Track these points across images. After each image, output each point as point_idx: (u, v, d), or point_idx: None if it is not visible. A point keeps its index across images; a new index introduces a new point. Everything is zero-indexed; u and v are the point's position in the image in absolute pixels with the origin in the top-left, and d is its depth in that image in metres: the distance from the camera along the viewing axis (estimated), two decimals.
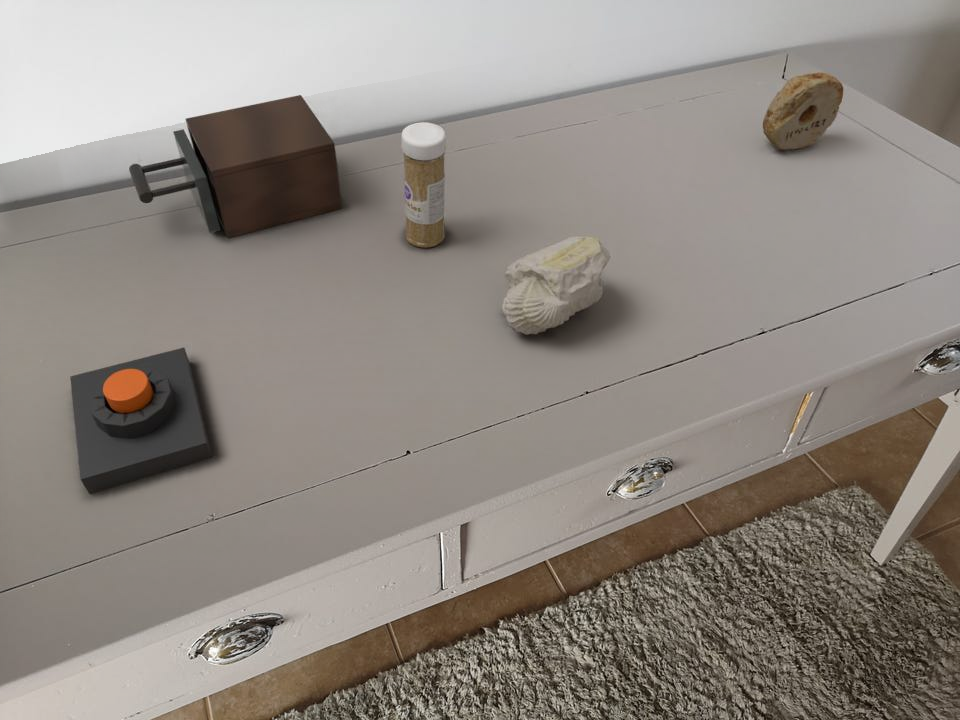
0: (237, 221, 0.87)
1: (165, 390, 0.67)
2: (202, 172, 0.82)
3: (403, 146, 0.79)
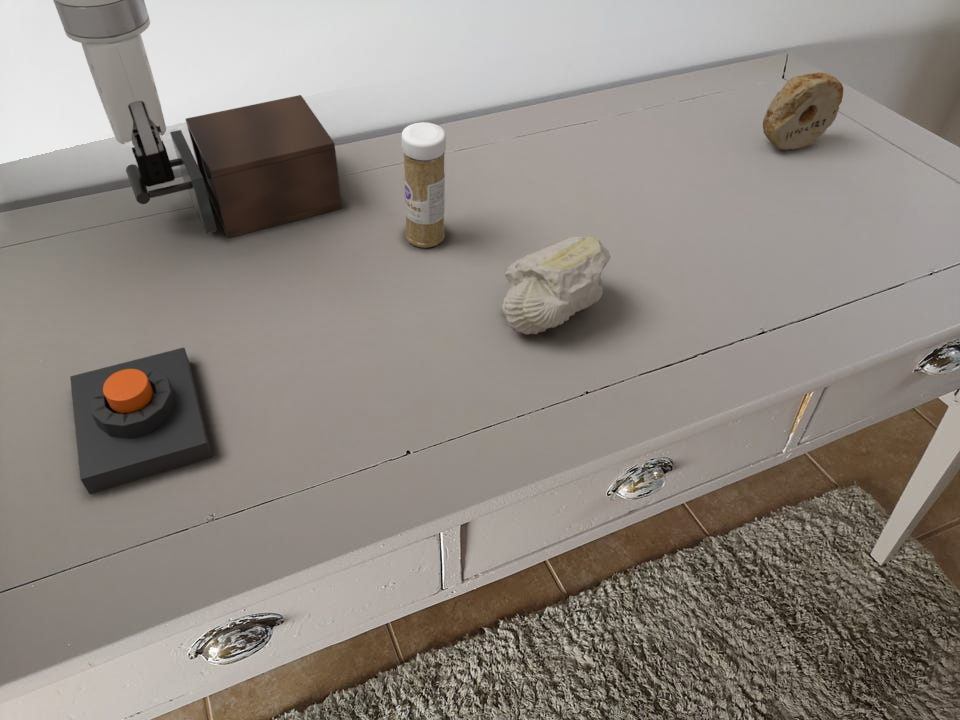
0: (237, 221, 0.87)
1: (165, 390, 0.67)
2: (199, 173, 0.82)
3: (403, 146, 0.79)
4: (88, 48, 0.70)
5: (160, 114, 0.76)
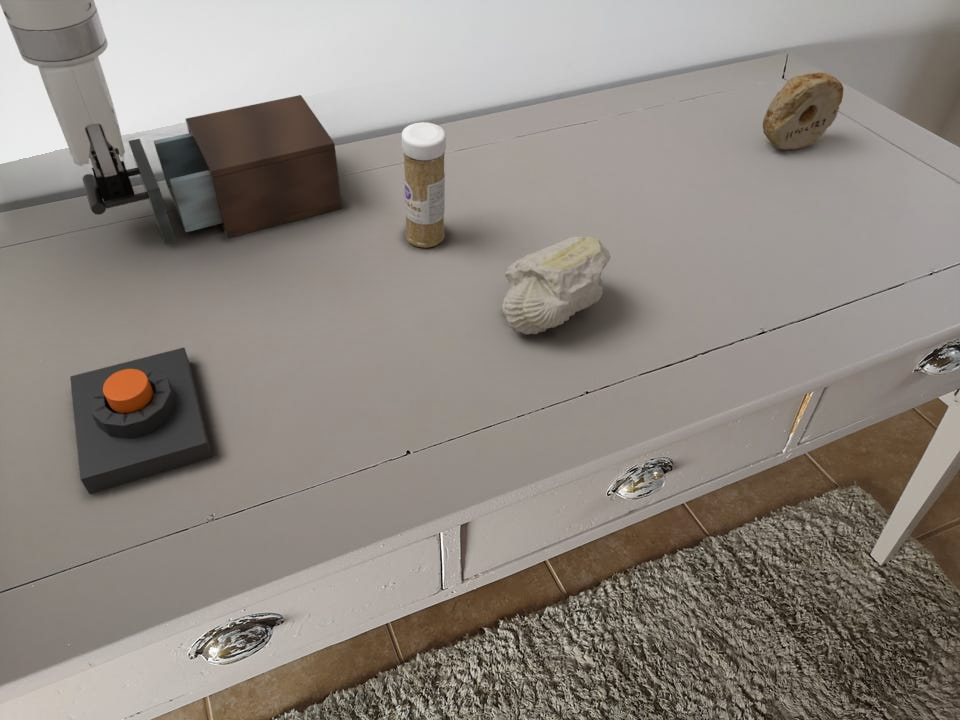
0: (237, 221, 0.87)
1: (165, 390, 0.67)
2: (155, 183, 0.81)
3: (403, 146, 0.79)
4: (43, 71, 0.70)
5: (118, 136, 0.75)
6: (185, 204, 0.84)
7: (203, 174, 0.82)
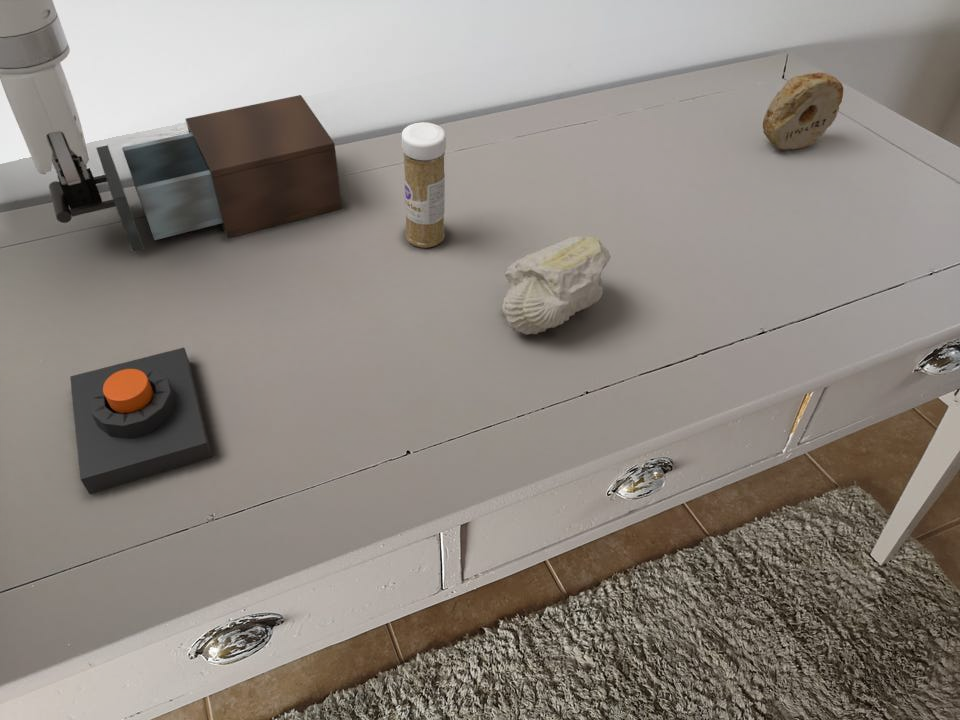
0: (237, 221, 0.87)
1: (165, 390, 0.67)
2: (121, 191, 0.80)
3: (403, 146, 0.79)
4: (2, 78, 0.68)
5: (81, 144, 0.74)
6: (153, 212, 0.83)
7: (170, 182, 0.81)
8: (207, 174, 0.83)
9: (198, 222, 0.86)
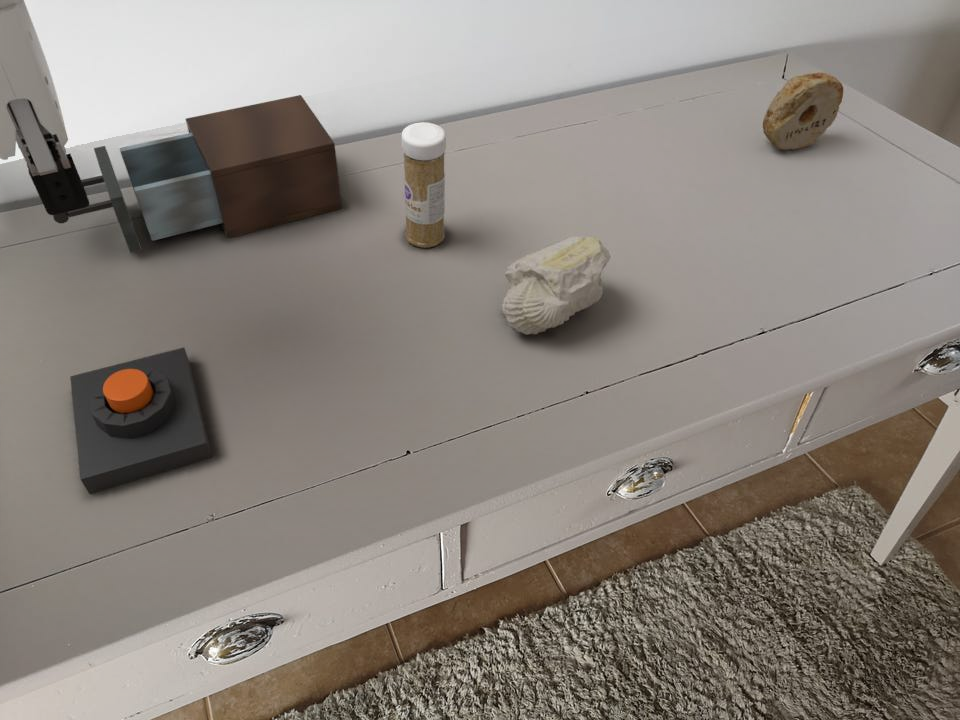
0: (237, 221, 0.87)
1: (165, 390, 0.67)
2: (118, 191, 0.80)
3: (403, 146, 0.79)
4: None
5: (57, 117, 0.54)
6: (150, 213, 0.83)
7: (168, 183, 0.81)
8: (204, 174, 0.83)
9: (196, 223, 0.86)
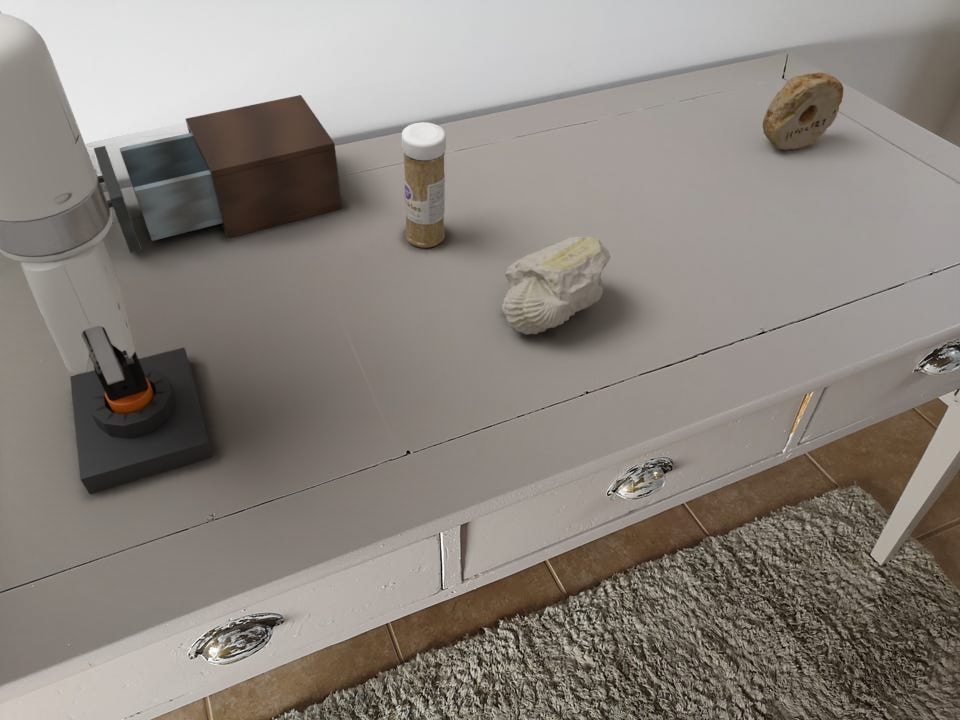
0: (237, 221, 0.87)
1: (165, 390, 0.67)
2: (118, 191, 0.80)
3: (403, 146, 0.79)
4: (24, 269, 0.51)
5: (127, 336, 0.56)
6: (150, 213, 0.83)
7: (168, 183, 0.81)
8: (204, 174, 0.83)
9: (196, 223, 0.86)
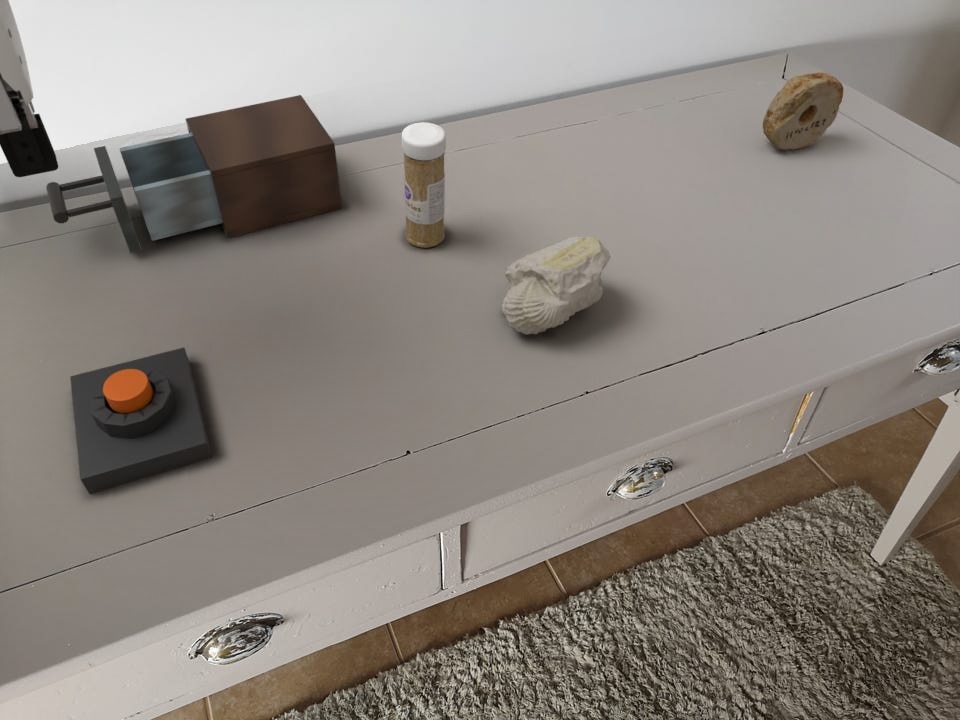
0: (237, 221, 0.87)
1: (165, 390, 0.67)
2: (118, 191, 0.80)
3: (403, 146, 0.79)
4: None
5: (20, 73, 0.51)
6: (150, 213, 0.83)
7: (168, 183, 0.81)
8: (204, 174, 0.83)
9: (196, 223, 0.86)
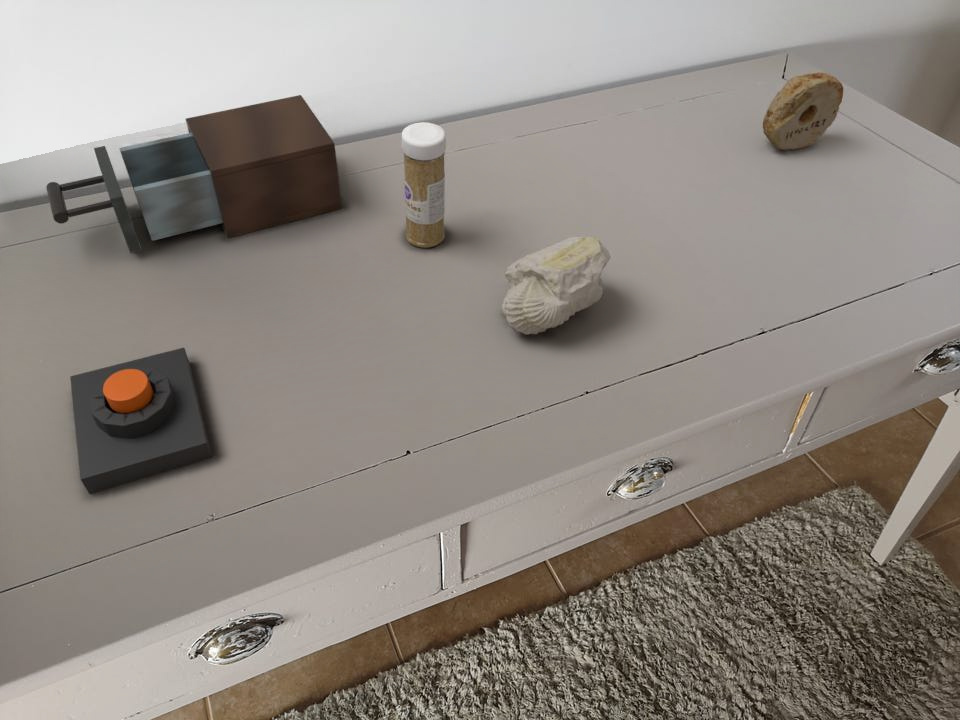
0: (237, 221, 0.87)
1: (165, 390, 0.67)
2: (118, 191, 0.80)
3: (403, 146, 0.79)
4: None
5: None
6: (150, 213, 0.83)
7: (168, 183, 0.81)
8: (204, 174, 0.83)
9: (196, 223, 0.86)
